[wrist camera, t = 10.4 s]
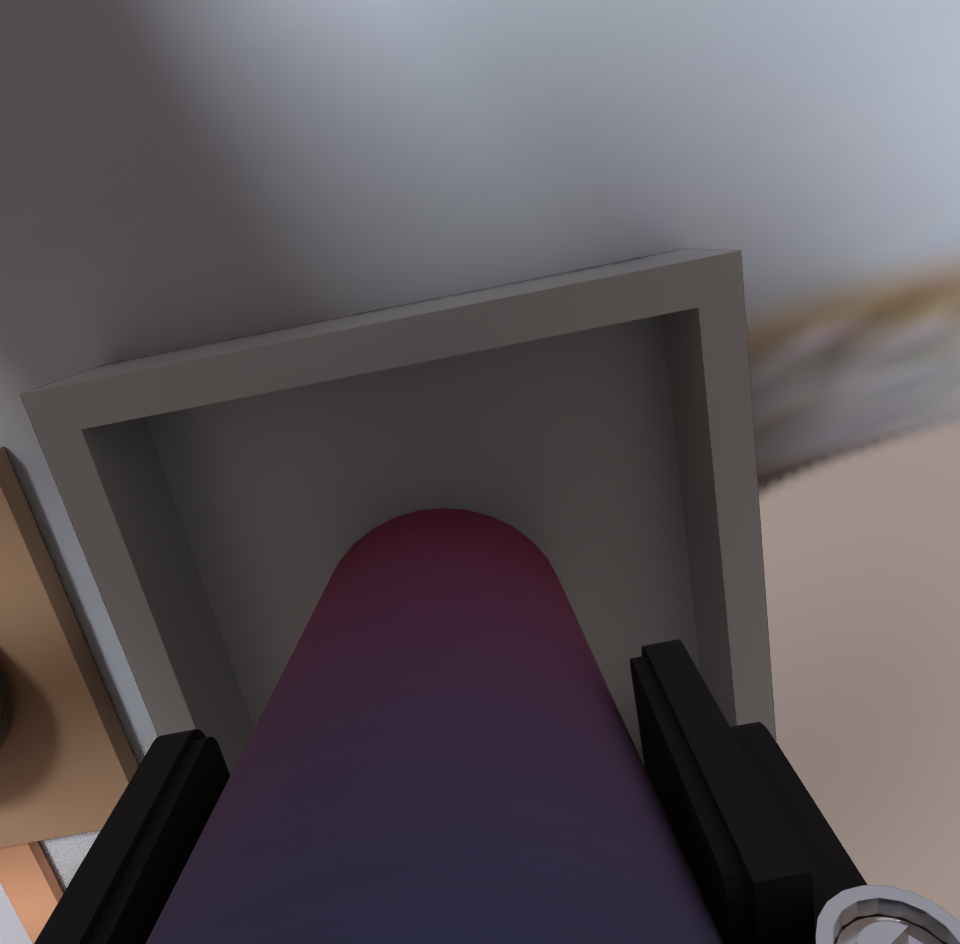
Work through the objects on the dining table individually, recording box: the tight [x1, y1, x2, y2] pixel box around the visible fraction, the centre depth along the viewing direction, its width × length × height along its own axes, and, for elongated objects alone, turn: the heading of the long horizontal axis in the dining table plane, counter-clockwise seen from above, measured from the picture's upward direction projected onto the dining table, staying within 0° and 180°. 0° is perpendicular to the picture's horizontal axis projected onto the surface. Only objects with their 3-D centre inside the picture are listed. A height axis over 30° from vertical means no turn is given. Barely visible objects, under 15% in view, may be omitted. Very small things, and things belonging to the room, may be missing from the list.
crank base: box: [0, 447, 139, 944], centre depth 19 cm, size 21×8×1 cm, turn 11°
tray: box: [20, 248, 776, 776], centre depth 16 cm, size 13×13×3 cm
